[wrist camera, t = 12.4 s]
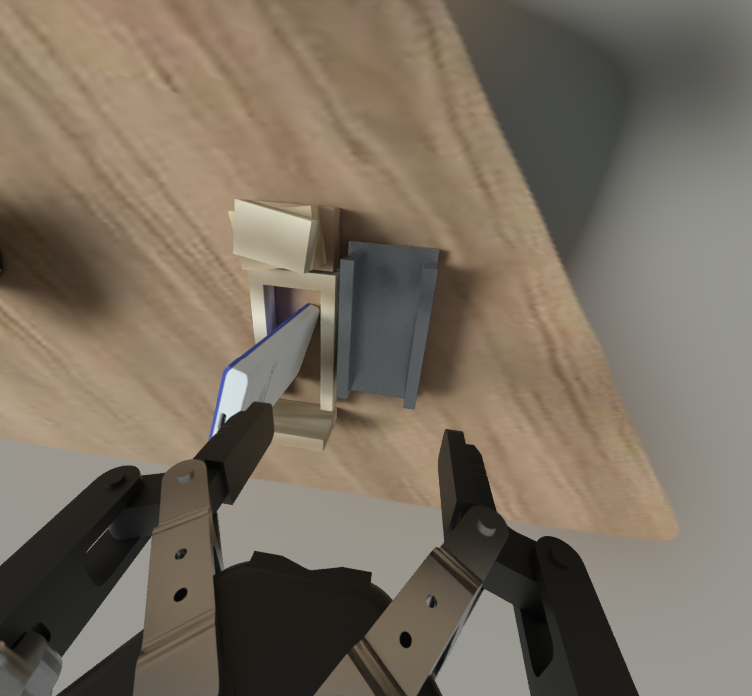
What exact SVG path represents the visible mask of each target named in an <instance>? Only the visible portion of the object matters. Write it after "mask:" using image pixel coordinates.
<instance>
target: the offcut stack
mask: <svg viewBox="0 0 752 696" xmlns="http://www.w3.org/2000/svg"><path fill="white" fill-rule="evenodd" d="M228 212H229V217H230V221H231V225H232V229H233V233H234V237H233V254H237V255H239V259H240V263H241V267H242V270H250V269H277V268H284V269H287V270H291V271H294V272H297V273H301V274H305V273H307V272H309V271H311V270H312V269H313V270H322V271H331V272H333V271H335V270H336V269H338V268H339V257H340V222H341V208H333V207H322V206H311V205H300V204H289V203H279V202H268V201H257V200H244V199H243V200H242V199H235V211H228Z"/></svg>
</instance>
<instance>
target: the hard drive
mask: <svg viewBox="0 0 752 696" xmlns="http://www.w3.org/2000/svg"><path fill="white" fill-rule="evenodd" d="M319 313H320V310H319V308H318V307H316V306H314V305H311V304H308V303H307V304H306V305H305V306H303V307H302V308H301V309H299V310H298V311H297V312H296V313H295V314H293V315H292V316H291V317H289V318H288V319H287V320H286V321H285V322H283V323H282V324H281V325H279V326H278V327H277V328H276V329H274V330H273V331H272V332H271V333H269V334H268V335H267V336H266V337H264V338H263V339H262V340H261V341H259V342H258V343H257V344H256V345H254V346H253V347H252V348H251V349H249V350H248V351H247V352H245V353H244V354H243V355H242V356H240V357H239V358H237V359H236V360H234V361H233V362H232V363H231V364H229V365H228V366H227V367H226V368H225V370H224V372H223V375H222V380H221V384H220V389H219V394H218V398H217V404H216V409H215V413H214V418H213V423H212V427H211V432H210V436H209V440H210V439H211V438H212V437H213V436H214V435H215V434H216V433H217V431H218V430H219V429H220V428H221V427H223V424H224V423H225V422H226V421H227V420H228V419H229V418H230V417H231V416H233V415H234V414H236V413H238V412H239V411H246V410H247V408H248V407H249V406H250V405H251V404H252V403H253V402H254V401H257V402H264V403H270V404H271V405H272V407H273V406H274V404H275V403H276V402H277V400H278V399H279V398H280V397H281V395H282V394H283V393H284V391H285V390H286V389H287V388H288V386H289V385H290V384H291V382H292V381H293V380H294V379H295V377H296V376H297V375H298V373H299V371H300V368H301V365H302V362H303V359H304V357H305V354H306V351H307V348H308V345H309V343H310V340H311V337H312V334H313V331H314V328H315V325H316V323H317V320H318V317H319Z"/></svg>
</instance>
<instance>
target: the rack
mask: <svg viewBox="0 0 752 696" xmlns="http://www.w3.org/2000/svg"><path fill="white" fill-rule="evenodd" d="M248 277H249V287H250V296H251V306H252V316H253V326H254V336H255V345H256V344H257V343H258V342H259V341H261V340H262V339H263V338H264V337H266V336H267V335H268V334H269V333H271V332H272V331H273V330H274V329H276V328H277V326H276V311H275V296H274V286H280V287H288V288H297V289H305V290H314V291H321V405H317V404H310V403H303V402H297V401H290V400H283V399H278V400H277V402H276V403H275V404H274V406H273V407H272V409H273V419H274V436H273V439H272V442H271V443H274V444H280V445H286V446H292V447H298V448H304V449H310V450H316V451H322V452H323V451H324V449H325V446H326V444H327V441H328V439H329V436H330V434H331V431H332V429H333V426H334V424H335V421H336V419H337V408H336V407H334V406H335V404H336V402H337V398H336V390H337V357H338V323H339V290H340V271H333V272H331V271H322V270H313V269H312V270H311V271H309V272H307V273H305V274H301V273H297V272H294V271H291V270H287V269H284V268H277V269H250V270H248Z"/></svg>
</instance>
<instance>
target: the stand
mask: <svg viewBox="0 0 752 696" xmlns="http://www.w3.org/2000/svg"><path fill="white" fill-rule="evenodd" d="M439 251H440V250H439V249H433V248H423V247H413V246H403V245H393V244H384V243H374V242H364V241H354V240H350V241H349V245H348V255H347V256H345V257H344V258H342V259H340V290H339V323H338V357H337V390H336V398H341V399H348V396H349V394H350V391H351V390H353V391H360V392H367V393H374V394H381V395H388V396H395V397H401V398H404V404H403V408H408V409H415V404H416V398H417V393H418V387H419V381H420V375H421V369H422V363H423V357H424V352H425V346H426V340H427V334H428V328H429V322H430V316H431V311H432V305H433V299H434V293H435V287H436V281H437V275H438V267H437V263H438V257H439Z"/></svg>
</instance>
